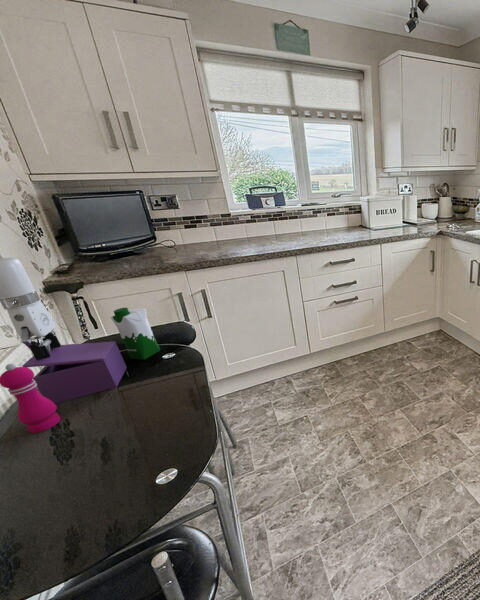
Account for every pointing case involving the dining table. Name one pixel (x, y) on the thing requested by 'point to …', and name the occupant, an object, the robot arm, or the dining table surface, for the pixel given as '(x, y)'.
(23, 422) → the pepper mill
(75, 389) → the box
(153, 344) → the milk carton
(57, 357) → the lid
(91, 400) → the dining table surface
